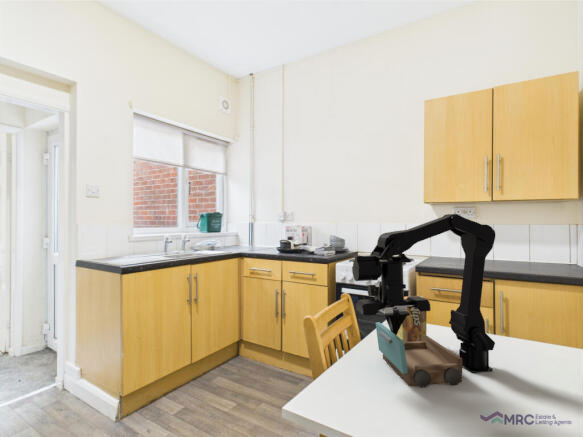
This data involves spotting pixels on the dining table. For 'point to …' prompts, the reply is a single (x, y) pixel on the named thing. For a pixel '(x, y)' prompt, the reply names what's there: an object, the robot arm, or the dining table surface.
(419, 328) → the candy box
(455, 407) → the dining table surface
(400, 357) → the panel
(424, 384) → the cart bed
